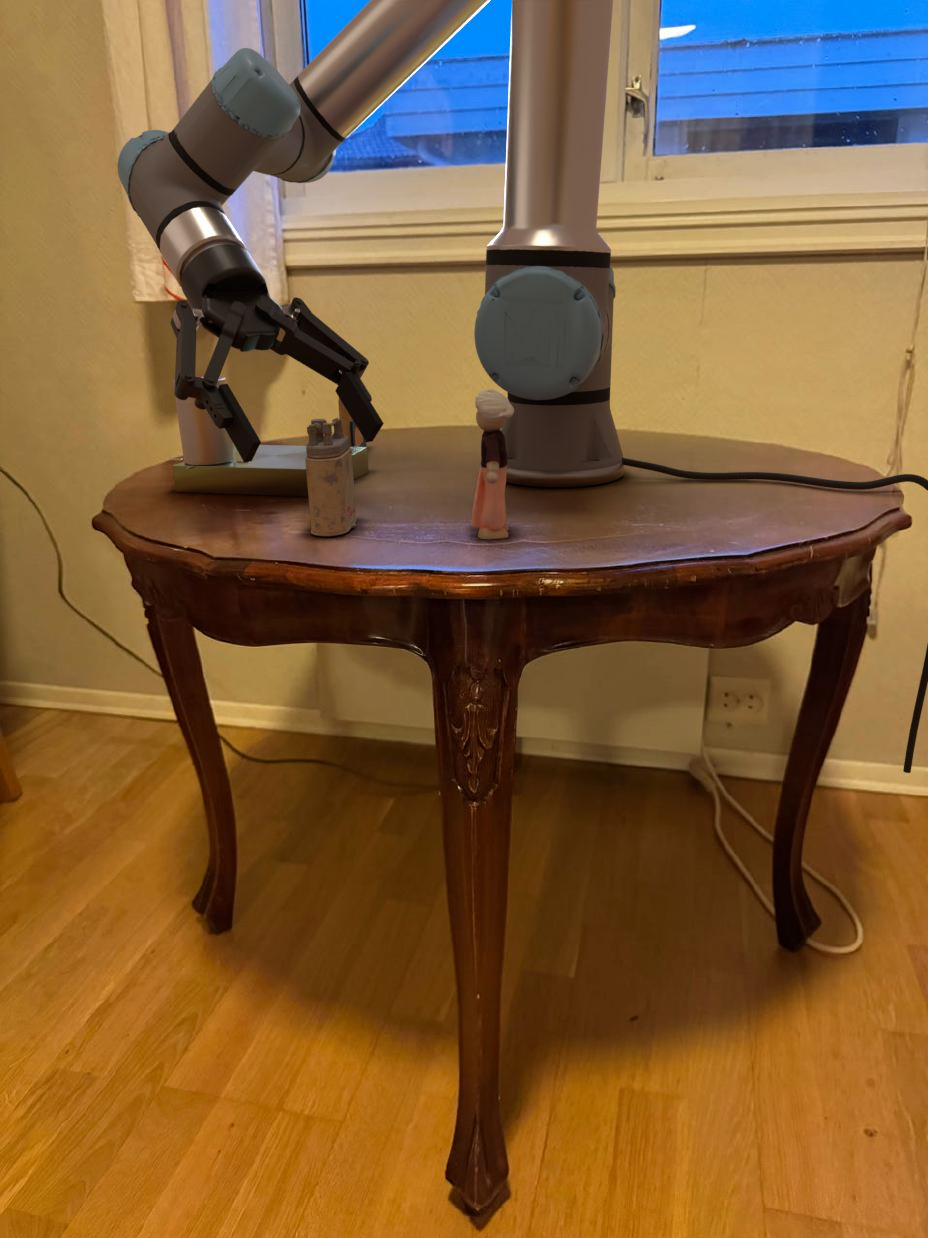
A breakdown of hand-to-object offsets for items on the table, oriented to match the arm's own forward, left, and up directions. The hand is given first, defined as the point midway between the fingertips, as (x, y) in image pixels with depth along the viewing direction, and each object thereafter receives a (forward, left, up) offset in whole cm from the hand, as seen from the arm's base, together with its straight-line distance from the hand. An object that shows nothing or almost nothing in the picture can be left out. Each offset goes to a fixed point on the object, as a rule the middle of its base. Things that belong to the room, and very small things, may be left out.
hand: (317, 442), depth 81 cm
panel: (+14, -17, -8) cm, 24 cm away
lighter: (-2, +1, -8) cm, 8 cm away
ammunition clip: (+10, -36, -8) cm, 38 cm away
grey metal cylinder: (+19, -14, -5) cm, 24 cm away
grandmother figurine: (-17, +1, -8) cm, 18 cm away
